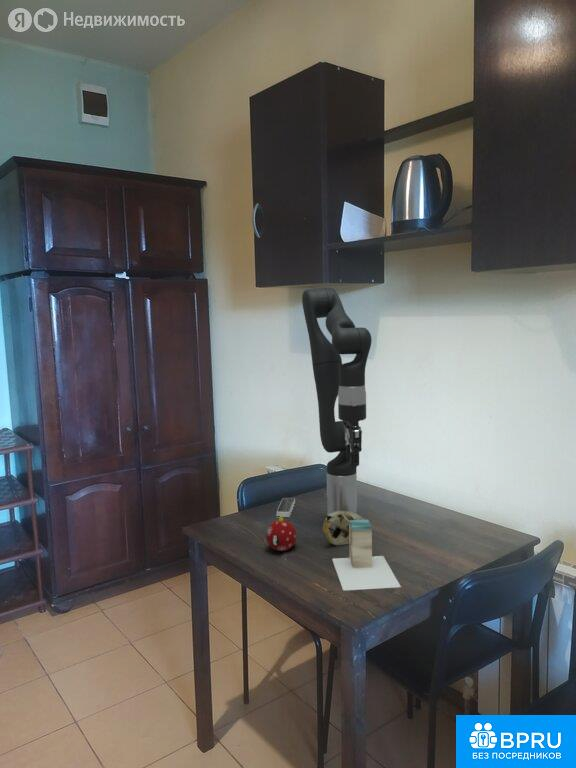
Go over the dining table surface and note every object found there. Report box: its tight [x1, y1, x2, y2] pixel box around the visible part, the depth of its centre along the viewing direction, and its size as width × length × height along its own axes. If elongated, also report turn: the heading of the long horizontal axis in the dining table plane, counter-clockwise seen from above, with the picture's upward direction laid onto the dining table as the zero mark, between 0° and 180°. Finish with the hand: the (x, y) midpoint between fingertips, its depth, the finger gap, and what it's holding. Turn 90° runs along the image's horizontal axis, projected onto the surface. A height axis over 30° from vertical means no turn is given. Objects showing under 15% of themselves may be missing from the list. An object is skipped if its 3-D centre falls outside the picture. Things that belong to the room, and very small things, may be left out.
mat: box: [331, 555, 402, 592], centre depth 146 cm, size 18×14×1 cm
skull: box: [322, 511, 365, 546], centre depth 166 cm, size 10×16×10 cm, turn 134°
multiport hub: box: [276, 497, 296, 518], centre depth 196 cm, size 4×14×2 cm, turn 172°
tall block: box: [348, 519, 373, 568], centre depth 150 cm, size 5×5×11 cm
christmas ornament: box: [265, 516, 298, 552], centre depth 162 cm, size 9×9×10 cm
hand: (352, 462), depth 157 cm, fingers open, 6 cm apart
